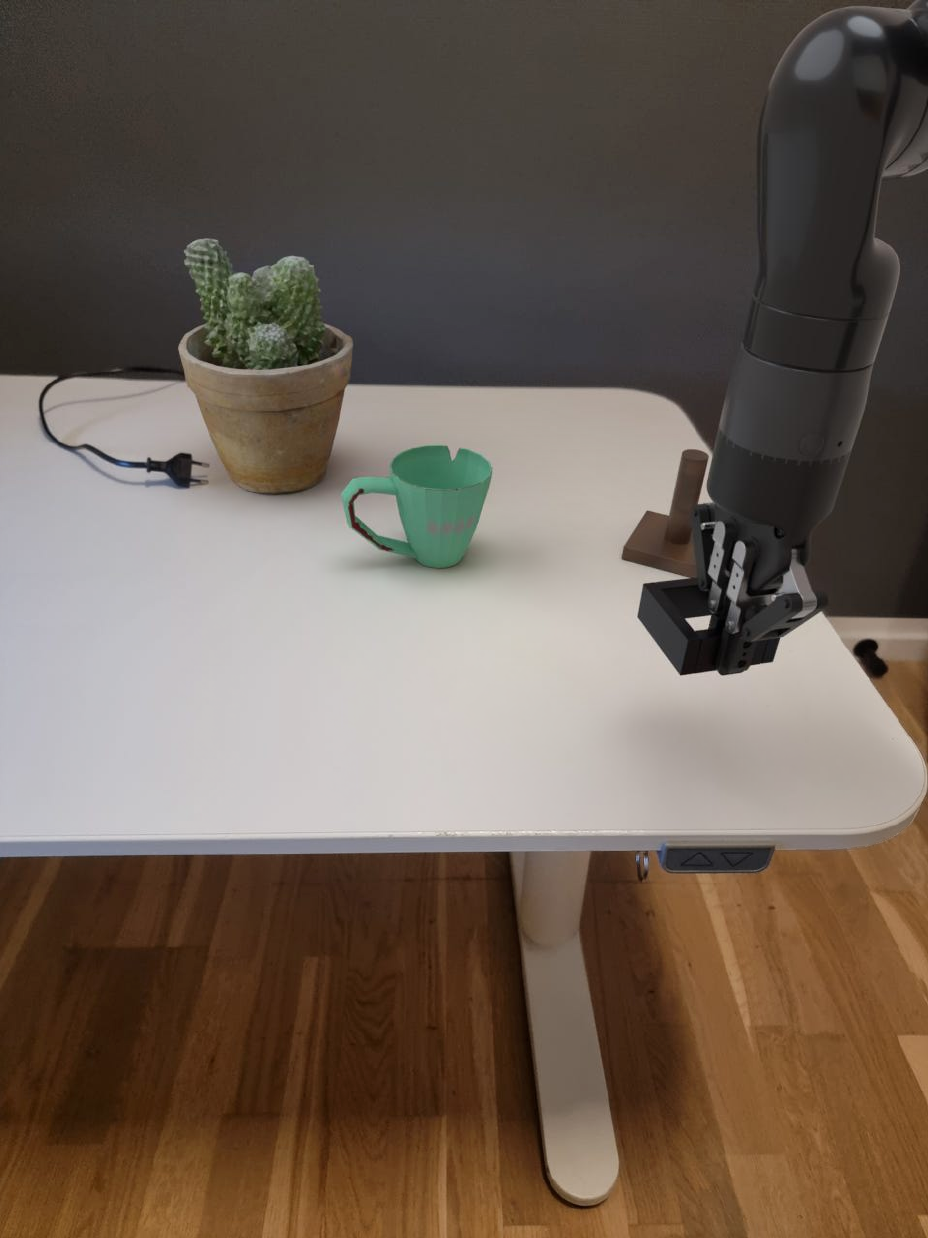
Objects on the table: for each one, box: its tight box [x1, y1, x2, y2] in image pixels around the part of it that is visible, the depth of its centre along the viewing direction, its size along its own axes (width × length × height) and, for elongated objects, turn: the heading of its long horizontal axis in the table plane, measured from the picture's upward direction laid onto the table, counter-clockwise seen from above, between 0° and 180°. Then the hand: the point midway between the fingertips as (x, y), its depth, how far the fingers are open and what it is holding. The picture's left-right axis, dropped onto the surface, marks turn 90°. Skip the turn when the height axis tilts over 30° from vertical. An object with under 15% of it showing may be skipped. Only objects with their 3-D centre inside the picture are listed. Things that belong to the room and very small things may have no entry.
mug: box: [340, 444, 493, 569], centre depth 85 cm, size 15×10×10 cm
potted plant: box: [177, 238, 354, 495], centre depth 94 cm, size 18×19×25 cm
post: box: [621, 448, 713, 578], centre depth 88 cm, size 9×9×11 cm
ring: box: [636, 577, 781, 677], centre depth 62 cm, size 7×7×3 cm
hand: (723, 663), depth 60 cm, fingers closed on ring, 1 cm apart
